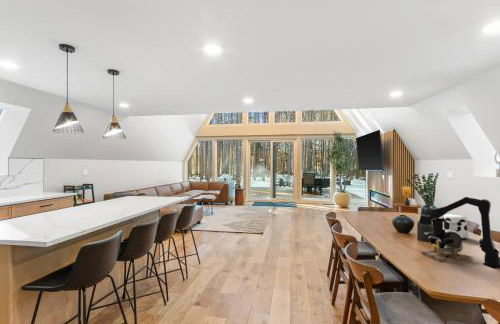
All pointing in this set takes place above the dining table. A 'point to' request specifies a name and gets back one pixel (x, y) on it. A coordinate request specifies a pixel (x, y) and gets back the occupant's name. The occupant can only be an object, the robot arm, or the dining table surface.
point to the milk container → (456, 225)
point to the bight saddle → (435, 247)
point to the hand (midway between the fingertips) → (438, 250)
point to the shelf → (444, 254)
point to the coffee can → (455, 241)
